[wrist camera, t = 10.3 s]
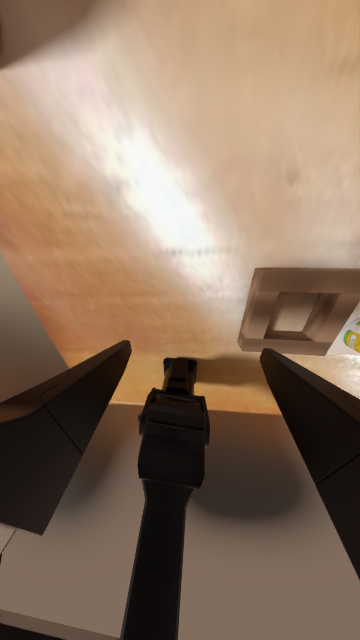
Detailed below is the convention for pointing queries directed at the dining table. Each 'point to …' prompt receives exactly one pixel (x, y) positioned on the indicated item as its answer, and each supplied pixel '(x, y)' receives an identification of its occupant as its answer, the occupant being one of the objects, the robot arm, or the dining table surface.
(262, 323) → the block
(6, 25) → the dining table surface
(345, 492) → the robot arm
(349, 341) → the supplement bottle
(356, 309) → the coaster
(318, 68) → the dining table surface
